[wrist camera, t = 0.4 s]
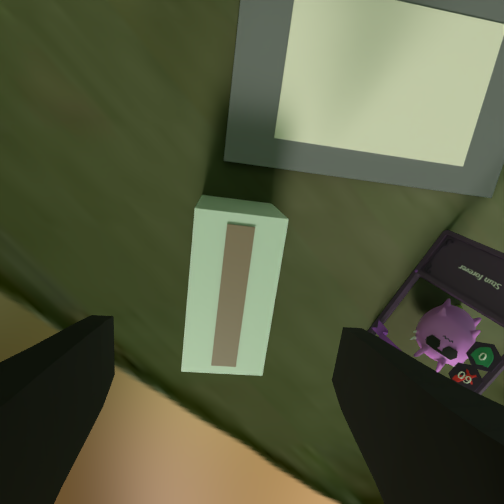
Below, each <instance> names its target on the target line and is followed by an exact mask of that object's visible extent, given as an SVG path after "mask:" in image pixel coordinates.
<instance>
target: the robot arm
mask: <svg viewBox="0 0 504 504" xmlns="http://www.w3.org/2000/svg"><path fill="white" fill-rule="evenodd" d="M114 375H115V370H114V322H113V316H97V315H92V316H89V317H87V318H85V319H83V320H81V321H79V322H77V323H75V324H73V325H71V326H69V327H67V328H66V329H64V330H62V331H60V332H58V333H56V334H55V335H53V336H51V337H49V338H47V339H45V340H43V341H41V342H40V343H38V344H36V345H34V346H32V347H30V348H28V349H26V350H24V351H22V352H20V353H18V354H16V355H14V356H12V357H10V358H8V359H6V360H4V361H2V362H0V504H54V502H55V500H56V498H57V496H58V494H59V492H60V489H61V487H62V485H63V483H64V481H65V480H66V477H67V476H68V474H69V472H70V470H71V468H72V466H73V464H74V462H75V460H76V458H77V456H78V454H79V452H80V451H81V448H82V447H83V445H84V443H85V441H86V439H87V437H88V435H89V433H90V431H91V429H92V427H93V425H94V423H95V421H96V419H97V417H98V415H99V413H100V411H101V409H102V407H103V405H104V402H105V400H106V397H107V394H108V391H109V389H110V386H111V383H112V380H113V377H114ZM332 382H333V385H334V389H335V392H336V395H337V398H338V401H339V404H340V407H341V410H342V412H343V415H344V417H345V419H346V421H347V423H348V425H349V428H350V430H351V432H352V434H353V436H354V438H355V440H356V442H357V445H358V447H359V449H360V451H361V453H362V455H363V457H364V459H365V461H366V463H367V466H368V468H369V470H370V472H371V474H372V476H373V478H374V480H375V482H376V485H377V487H378V489H379V492H380V494H381V496H382V498H383V501H384V503H385V504H504V406H503V405H501V404H499V403H497V402H494V401H492V400H490V399H488V398H486V397H484V396H482V395H480V394H478V393H476V392H474V391H472V390H470V389H468V388H466V387H464V386H462V385H460V384H458V383H456V382H454V381H453V380H451V379H449V378H447V377H445V376H444V375H442V374H440V373H438V372H436V371H434V370H433V369H431V368H429V367H428V366H426V365H424V364H422V363H421V362H419V361H417V360H416V359H414V358H412V357H411V356H409V355H407V354H406V353H404V352H402V351H401V350H399V349H397V348H396V347H394V346H392V345H391V344H389V343H387V342H386V341H384V340H382V339H381V338H379V337H377V336H375V335H374V334H372V333H370V332H368V331H366V330H364V329H362V328H345V327H343V330H342V335H341V340H340V345H339V349H338V354H337V359H336V364H335V368H334V373H333V378H332Z"/></svg>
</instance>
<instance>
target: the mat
mask: <svg viewBox="0 0 504 504" xmlns="http://www.w3.org/2000/svg"><path fill="white" fill-rule="evenodd" d="M224 161H229V162H236V163H243V164H250V165H257V166H265V167H272V168H279V169H286V170H293V171H301V172H308V173H315V174H322V175H329V176H337V177H344V178H351V179H358V180H365V181H373V182H380V183H387V184H394V185H401V186H409V187H416V188H423V189H430V190H437V191H445V192H452V193H459V194H466V195H473V196H481V197H488V198H492V195H493V192H494V189H495V186H496V183H497V181H498V178H499V175H500V172H501V169H502V166H503V163H504V0H240V8H239V18H238V28H237V37H236V47H235V56H234V66H233V75H232V85H231V94H230V104H229V114H228V123H227V133H226V142H225V152H224Z"/></svg>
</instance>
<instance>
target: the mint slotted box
mask: <svg viewBox="0 0 504 504" xmlns="http://www.w3.org/2000/svg"><path fill="white" fill-rule="evenodd" d="M288 220H289V219H288V218H287V217H286V216H285V215H283V214H282V213H281V212H280V211H279V210H278V209H277V208H276V207H275V206H274V205H273V204H271V203H264V202H256V201H248V200H239V199H231V198H223V197H215V196H207V195H202V196H201V198H200V200H199V201H198V203H197V205H196V207H195V213H194V225H193V237H192V249H191V261H190V273H189V285H188V297H187V309H186V321H185V333H184V345H183V356H182V368H181V371H182V372H201V373H220V374H240V375H259V376H262V374H263V368H264V362H265V356H266V350H267V344H268V338H269V333H270V327H271V321H272V315H273V309H274V303H275V297H276V291H277V285H278V279H279V273H280V267H281V261H282V256H283V250H284V244H285V238H286V232H287V226H288Z"/></svg>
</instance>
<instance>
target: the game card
mask: <svg viewBox="0 0 504 504" xmlns="http://www.w3.org/2000/svg"><path fill="white" fill-rule="evenodd" d="M420 277H421V278H423V279H425V280H426V281H428V282H430V283H431V284H433V285H435V286H436V287H438V288H440V289H441V290H443V291H445V292H446V293H448V294H450V295H451V296H453V297H454V298H456V299H458V300H459V301H461V302H463V303H464V304H466V305H468V306H469V307H471V308H473V309H474V310H476V311H477V312H479V313H481V314H482V315H484V316H486V317H487V318H489V319H491V320H492V321H494V322H496V323H497V324H499V325H500V326H502V327H504V253H502V252H500V251H497V250H495V249H493V248H490V247H488V246H485V245H483V244H481V243H478V242H476V241H473V240H471V239H469V238H466V237H464V236H461V235H459V234H457V233H454V232H452V231H450V230H445V231H443V232H442V234H441V235H440V236H439V238H438V239H437V240H436V242H435V243H434V244H433V246H432V247H431V248H430V249H429V251H428V252H427V253H426V255H425V256H424V257H423V259H422V260H421V261H420V263H419V264H418V265H417V267H416V268H415V269H414V271H413V272H412V273H411V274H410V276H409V277H408V278H407V280H406V281H405V282H404V284H403V285H402V286H401V288H400V289H399V290H398V292H397V293H396V294H395V296H394V297H393V298H392V299H391V301H390V302H389V303H388V305H387V306H386V307H385V309H384V310H383V311H382V313H381V314H380V315H379V317H378V318H377V319H376V321H375V322H374V323H373V325H372V326H371V327H370V328H369V330H368V332H370V333H372V334H374V335H376V333H377V334H378V335H379V338H381V339H382V340H384V341H386V342H387V343H389V344H391V345H392V346H394V347H396V348H397V349H399V348H398V347H397V346H396V345H395V344H394V343H393V342H392V341H391V340H390V339H389V338H388V337H386V335H387V333H388V330H387V329H386V328H385V326H384V325H383V324H384V323H385V322H386V320H387V319H388V318H389V316H390V315H391V314H392V312H393V311H394V310H395V309H396V307H397V306H398V305H399V303H400V302H401V301H402V299H403V298H404V297H405V296H406V294H407V293H408V292H409V290H410V289H411V288H412V286H413V285H414V284H415V283H416V281H417V280H418V279H419V278H420ZM450 303H451V300H450V299H449V298H448V299H447V300H446V301H445V302H444V303H443V304H442V305H441V306H438V307H435V308H433V309H431V310H430V311H428V312H427V313H426V314H424V315H423V317H422V318H421V319H420V321H419V322H418V324H417V327H416V330H415V331H414V332H415V333H416V336H414V337H412V338H411V339H410V340H412V339H415V340H416V341H417V342H418V345H419V347H420V348H421V349H420V350H418V351H417V352H416V353H415V354H414V356H419V355H421V354H423V353H425V354H426V355H427V356H429V357H430V358H432V359H433V360H436V361H438V364H437V368H436V372H439V371H440V370H441V368H442V367H443V366H444V365H445V363H447V364H450V365H452V366H453V369H452V370H451V371H450V372H449V376H450V378H451V380H453V381H454V382H456V383H458V384H460V385H462V386H464V387H466V388H468V389H470V390H472V391H474V392H476V393H478V394H480V395H481V394H482V393H483V392H484V391H485V390H486V389H487V388H488V386H489V385H490V384H491V383H492V382H493V381H494V380H495V379H496V378H497V376H498V375H499V374H500V373H501V372H502V371H503V370H504V355H503V356H502V357H501V356H500V354H499V352H498V351H497V349H496V347H495V345H493V344H487V343H481V342H475V338H476V337H477V335H478V334H479V333H480V330H475V328H476V326H477V325H478V323H479V322H480V321H481V318H475V319H472V318H471V316H470V315H469V314H468V313H467V312H466V311H465V310H463V308H462V306H461V305H456V306H453V305H451V304H450ZM399 350H400V349H399ZM468 358H469V360H470V363H471V365H468V364H463V363H464V361H465V360H466V359H468ZM477 369H479V370H483V371H488V373H487V374H486V375H485V376H484V377H483V378H481V376H480V374H479V372H478V370H477Z"/></svg>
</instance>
